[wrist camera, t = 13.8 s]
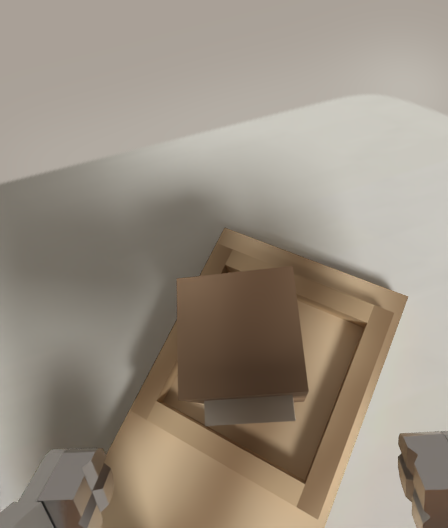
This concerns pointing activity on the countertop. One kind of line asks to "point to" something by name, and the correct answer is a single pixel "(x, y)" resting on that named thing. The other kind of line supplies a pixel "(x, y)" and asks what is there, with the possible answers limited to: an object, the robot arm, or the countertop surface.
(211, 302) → the brown block
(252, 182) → the countertop surface
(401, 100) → the countertop surface
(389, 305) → the wooden tray stand
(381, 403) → the countertop surface
